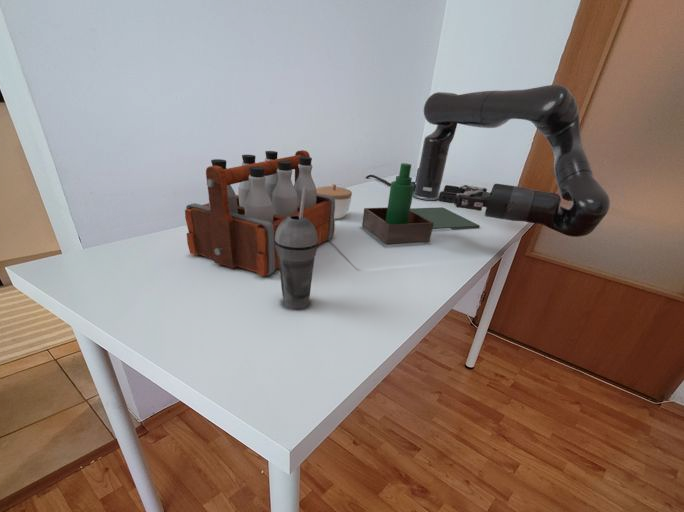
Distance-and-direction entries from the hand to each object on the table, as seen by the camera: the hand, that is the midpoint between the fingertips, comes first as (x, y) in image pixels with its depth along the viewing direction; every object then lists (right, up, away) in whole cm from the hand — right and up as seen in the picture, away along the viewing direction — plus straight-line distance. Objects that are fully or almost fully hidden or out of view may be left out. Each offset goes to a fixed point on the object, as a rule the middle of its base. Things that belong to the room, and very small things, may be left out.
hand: (441, 192), depth 91 cm
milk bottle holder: (-43, -14, -3) cm, 46 cm away
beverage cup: (-34, -31, -24) cm, 52 cm away
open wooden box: (-10, -8, +10) cm, 16 cm away
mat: (+6, +3, +26) cm, 27 cm away
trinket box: (-28, +1, +20) cm, 34 cm away
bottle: (-10, -7, +10) cm, 16 cm away
